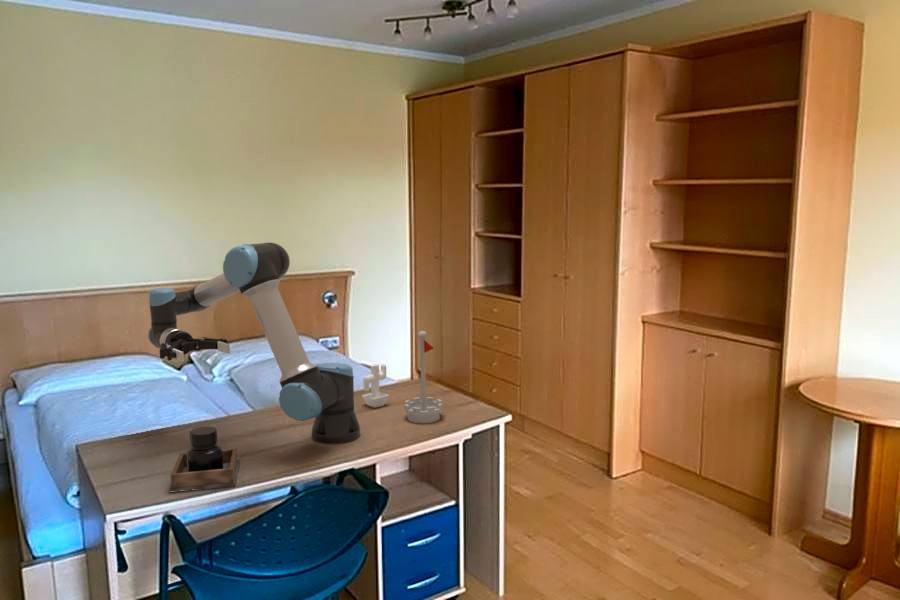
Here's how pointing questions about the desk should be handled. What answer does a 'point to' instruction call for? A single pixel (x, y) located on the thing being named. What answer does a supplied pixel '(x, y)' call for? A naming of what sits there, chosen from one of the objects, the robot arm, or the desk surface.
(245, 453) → the desk surface
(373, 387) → the figurine
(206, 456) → the ink bottle
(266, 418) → the desk surface
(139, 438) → the desk surface
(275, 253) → the robot arm
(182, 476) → the tray
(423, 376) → the flag stand
